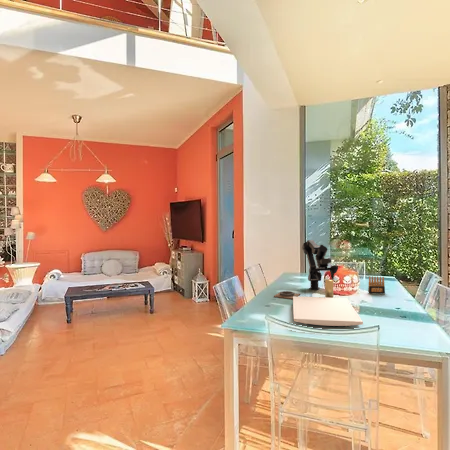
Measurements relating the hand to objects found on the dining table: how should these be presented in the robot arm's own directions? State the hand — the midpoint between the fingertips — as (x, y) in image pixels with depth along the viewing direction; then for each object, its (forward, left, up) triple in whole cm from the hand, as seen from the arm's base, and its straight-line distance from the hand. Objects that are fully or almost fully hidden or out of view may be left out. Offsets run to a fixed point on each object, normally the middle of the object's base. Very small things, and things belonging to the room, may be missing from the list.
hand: (326, 279), depth 217 cm
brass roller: (+5, +3, -12) cm, 13 cm away
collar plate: (+7, -25, -12) cm, 29 cm away
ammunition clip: (-28, +28, -12) cm, 41 cm away
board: (+39, +7, -13) cm, 42 cm away
